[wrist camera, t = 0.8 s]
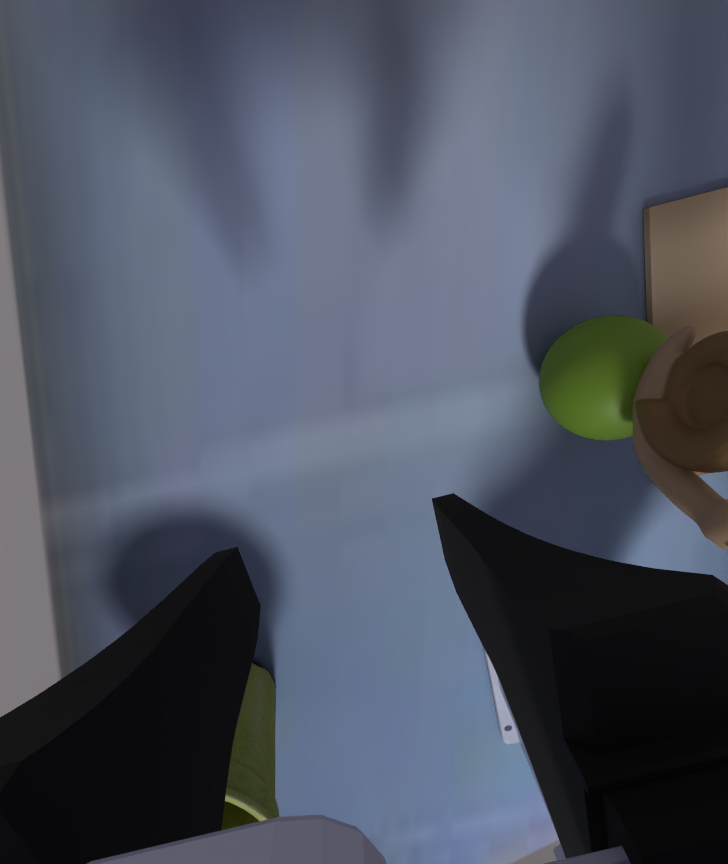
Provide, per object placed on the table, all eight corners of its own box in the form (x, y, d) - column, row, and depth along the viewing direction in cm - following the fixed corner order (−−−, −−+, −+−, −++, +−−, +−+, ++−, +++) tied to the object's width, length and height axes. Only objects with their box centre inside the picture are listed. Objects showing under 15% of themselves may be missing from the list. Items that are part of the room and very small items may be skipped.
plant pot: (128, 638, 25) (22, 809, 16) (289, 616, 25) (265, 775, 17) (168, 753, 27) (95, 949, 19) (313, 733, 28) (302, 918, 19)
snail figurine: (505, 433, 22) (683, 577, 11) (534, 306, 20) (789, 316, 9) (602, 443, 23) (872, 591, 11) (640, 320, 21) (1011, 347, 9)
